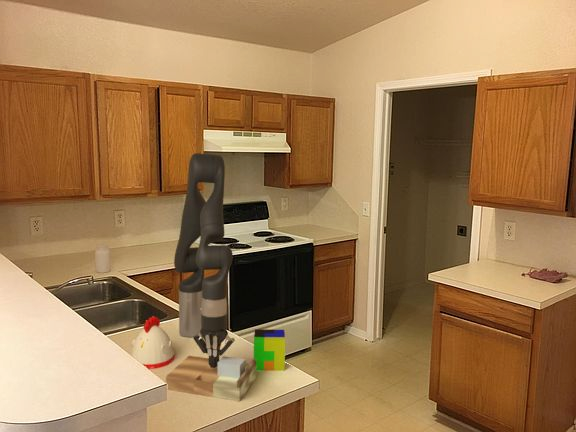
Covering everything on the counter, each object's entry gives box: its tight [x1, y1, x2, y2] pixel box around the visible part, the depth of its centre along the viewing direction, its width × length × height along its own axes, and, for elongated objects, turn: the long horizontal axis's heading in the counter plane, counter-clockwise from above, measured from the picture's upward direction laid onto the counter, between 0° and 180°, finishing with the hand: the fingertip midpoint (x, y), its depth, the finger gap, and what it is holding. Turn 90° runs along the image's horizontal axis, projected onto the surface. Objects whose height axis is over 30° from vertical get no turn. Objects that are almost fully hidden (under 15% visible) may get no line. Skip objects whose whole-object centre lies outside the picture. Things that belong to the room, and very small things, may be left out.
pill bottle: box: [94, 243, 112, 274], centre depth 268 cm, size 8×8×15 cm
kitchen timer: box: [130, 315, 175, 370], centre depth 160 cm, size 14×14×15 cm
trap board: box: [165, 355, 257, 402], centre depth 146 cm, size 15×23×6 cm, turn 75°
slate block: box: [218, 355, 246, 378], centre depth 144 cm, size 4×7×4 cm, turn 75°
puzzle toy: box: [253, 328, 286, 372], centre depth 160 cm, size 10×10×10 cm
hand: (213, 366), depth 145 cm, fingers closed
